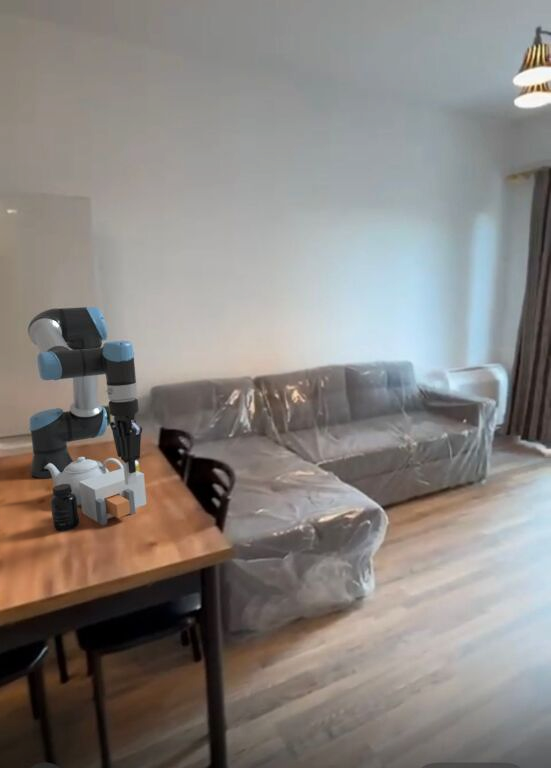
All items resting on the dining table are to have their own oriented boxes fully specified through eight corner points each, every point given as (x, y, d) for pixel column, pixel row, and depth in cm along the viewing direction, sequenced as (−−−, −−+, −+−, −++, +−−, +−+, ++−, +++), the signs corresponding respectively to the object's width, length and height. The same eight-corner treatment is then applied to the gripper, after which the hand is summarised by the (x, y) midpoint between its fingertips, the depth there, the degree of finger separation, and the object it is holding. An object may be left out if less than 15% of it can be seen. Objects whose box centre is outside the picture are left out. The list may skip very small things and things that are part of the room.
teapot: (72, 514, 146) (67, 471, 144) (46, 498, 159) (41, 459, 156) (127, 494, 160) (124, 455, 157) (100, 481, 172) (96, 444, 170)
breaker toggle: (104, 511, 143) (103, 498, 142) (117, 506, 146) (115, 493, 145) (117, 518, 138) (116, 505, 137) (130, 513, 141) (129, 500, 140)
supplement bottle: (58, 521, 142) (54, 482, 139) (82, 520, 142) (78, 481, 140) (50, 532, 135) (44, 492, 133) (75, 531, 135) (70, 490, 133)
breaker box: (81, 513, 147) (78, 481, 145) (129, 496, 158) (126, 466, 157) (102, 525, 138) (99, 492, 136) (151, 506, 150) (149, 475, 148)
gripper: (97, 399, 131) (106, 481, 135) (122, 404, 122) (131, 493, 126) (123, 394, 136) (130, 474, 140) (148, 399, 128) (156, 484, 132)
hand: (131, 483), depth 133 cm, fingers closed
